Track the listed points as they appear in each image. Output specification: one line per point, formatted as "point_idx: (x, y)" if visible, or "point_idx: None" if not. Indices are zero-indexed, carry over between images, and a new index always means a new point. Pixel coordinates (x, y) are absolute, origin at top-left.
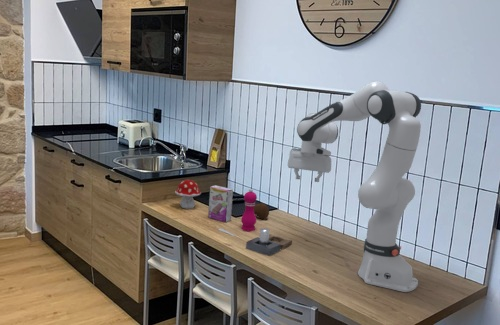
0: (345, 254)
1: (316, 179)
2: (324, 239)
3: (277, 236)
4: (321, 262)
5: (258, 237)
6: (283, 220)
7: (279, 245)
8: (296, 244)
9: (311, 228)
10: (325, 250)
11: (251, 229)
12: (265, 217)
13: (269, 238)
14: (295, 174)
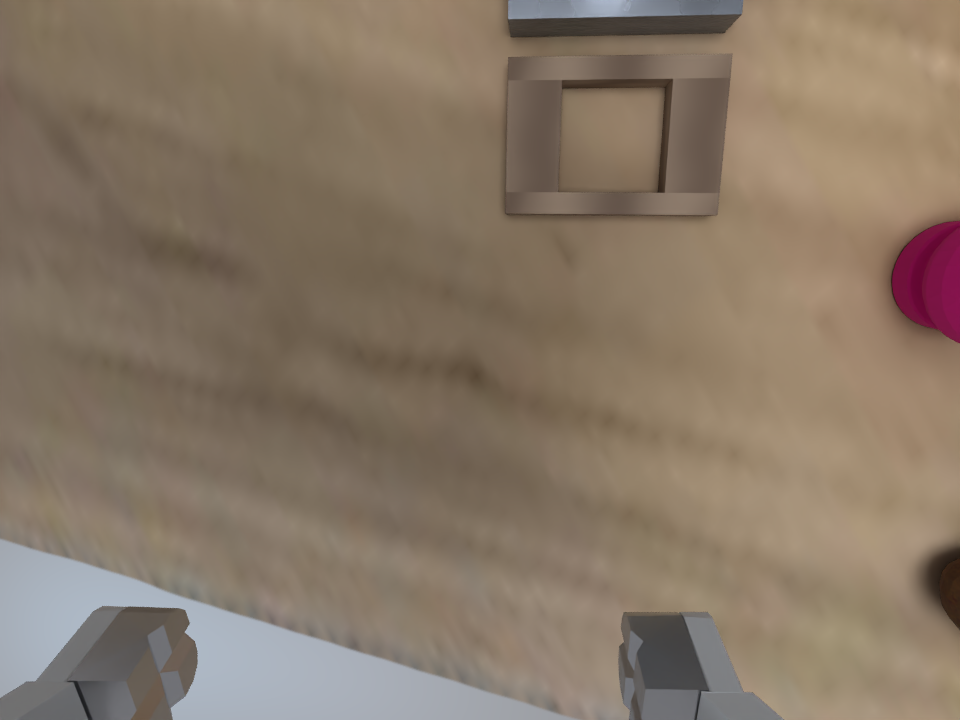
0: (166, 312)
1: (97, 642)
2: (394, 474)
3: (637, 210)
4: (194, 57)
5: (729, 13)
6: (809, 641)
7: (508, 4)
8: (486, 247)
9: (565, 614)
10: (287, 286)
11: (910, 251)
12: (946, 569)
13: (668, 130)
14: (768, 706)
